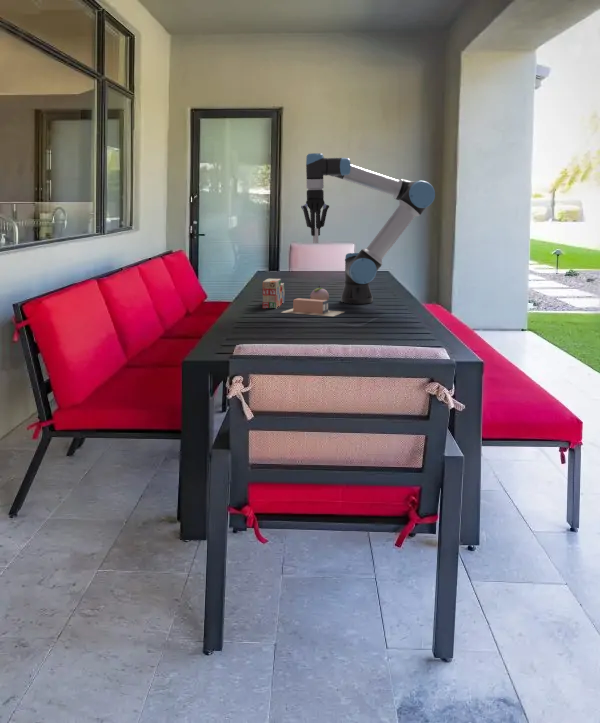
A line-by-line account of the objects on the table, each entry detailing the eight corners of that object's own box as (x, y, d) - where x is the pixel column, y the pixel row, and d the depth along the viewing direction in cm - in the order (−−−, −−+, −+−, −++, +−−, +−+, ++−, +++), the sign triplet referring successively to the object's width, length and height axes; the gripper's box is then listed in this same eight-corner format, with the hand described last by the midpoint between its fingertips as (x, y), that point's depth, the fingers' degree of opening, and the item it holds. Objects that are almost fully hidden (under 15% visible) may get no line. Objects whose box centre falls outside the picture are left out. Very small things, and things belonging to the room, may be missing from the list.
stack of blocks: (271, 302, 362) (271, 276, 359) (284, 302, 361) (284, 276, 358) (262, 308, 341) (262, 281, 339) (276, 309, 340) (276, 281, 338)
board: (345, 314, 327) (345, 311, 327) (333, 318, 315) (333, 316, 314) (294, 310, 336) (294, 308, 336) (280, 314, 324) (280, 312, 324)
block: (328, 300, 325) (298, 298, 330) (323, 301, 320) (293, 299, 326) (327, 311, 326) (297, 309, 331) (323, 313, 322) (293, 311, 327)
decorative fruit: (326, 309, 339) (327, 287, 337) (308, 309, 340) (309, 286, 338) (330, 306, 348) (330, 284, 346) (312, 306, 349) (312, 284, 347)
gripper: (325, 189, 345) (325, 242, 350) (298, 189, 340) (299, 243, 345) (331, 189, 338) (332, 243, 343) (304, 189, 333) (305, 244, 338)
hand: (315, 243), depth 344 cm, fingers closed
